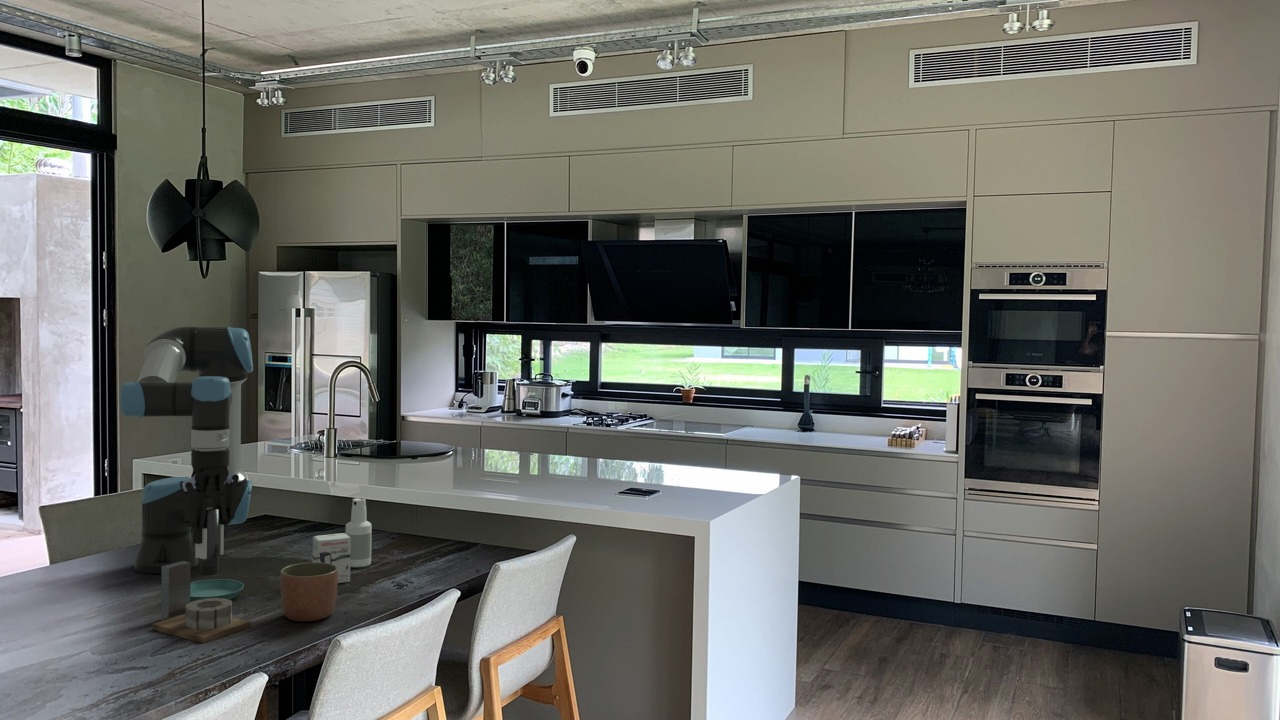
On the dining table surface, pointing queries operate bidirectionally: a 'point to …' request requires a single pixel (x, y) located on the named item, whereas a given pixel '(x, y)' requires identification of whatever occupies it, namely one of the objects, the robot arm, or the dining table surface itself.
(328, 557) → the ink box
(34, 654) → the dining table surface
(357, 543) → the spray bottle
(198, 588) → the saucer
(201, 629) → the socket board
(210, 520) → the cylinder
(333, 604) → the planter
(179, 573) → the grey rectangular block
